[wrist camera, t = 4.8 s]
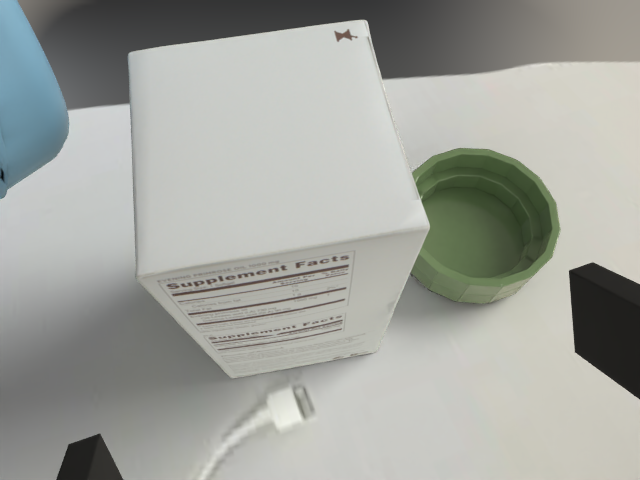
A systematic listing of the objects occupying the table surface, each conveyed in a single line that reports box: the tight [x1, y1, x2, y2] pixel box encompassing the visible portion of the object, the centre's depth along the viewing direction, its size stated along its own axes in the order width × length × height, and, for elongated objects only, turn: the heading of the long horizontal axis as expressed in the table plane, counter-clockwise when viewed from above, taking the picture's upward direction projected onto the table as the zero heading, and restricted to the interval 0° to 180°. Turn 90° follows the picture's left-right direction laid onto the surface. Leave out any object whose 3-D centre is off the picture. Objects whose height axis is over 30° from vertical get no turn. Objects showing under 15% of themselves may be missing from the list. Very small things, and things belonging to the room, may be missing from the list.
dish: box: [411, 148, 561, 303], centre depth 32 cm, size 9×9×4 cm
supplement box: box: [128, 20, 430, 378], centre depth 24 cm, size 10×9×17 cm
